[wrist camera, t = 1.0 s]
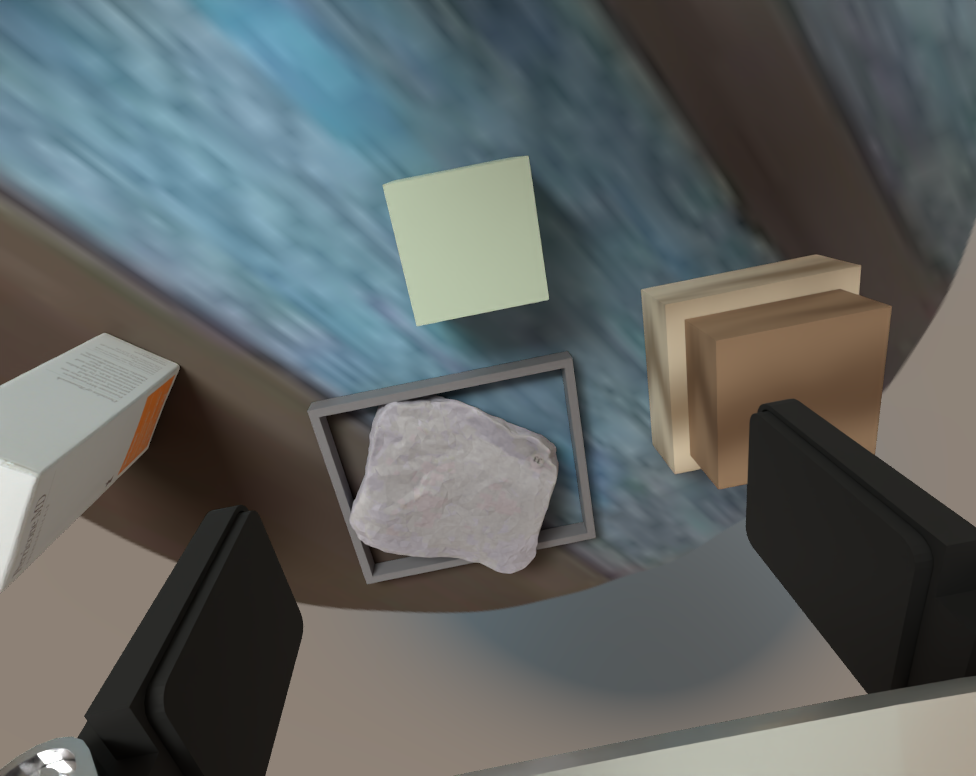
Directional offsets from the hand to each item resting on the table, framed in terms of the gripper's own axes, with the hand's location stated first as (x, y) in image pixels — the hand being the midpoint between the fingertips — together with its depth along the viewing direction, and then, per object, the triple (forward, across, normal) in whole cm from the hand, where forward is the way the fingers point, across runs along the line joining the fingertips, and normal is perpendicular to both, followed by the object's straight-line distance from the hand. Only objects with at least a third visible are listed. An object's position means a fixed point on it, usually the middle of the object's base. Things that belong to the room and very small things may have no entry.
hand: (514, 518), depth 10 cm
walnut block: (+17, -15, +8) cm, 24 cm away
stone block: (+22, +2, +12) cm, 25 cm away
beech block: (+21, -15, +8) cm, 27 cm away
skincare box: (+21, +19, +3) cm, 29 cm away
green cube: (+21, 0, -2) cm, 22 cm away
